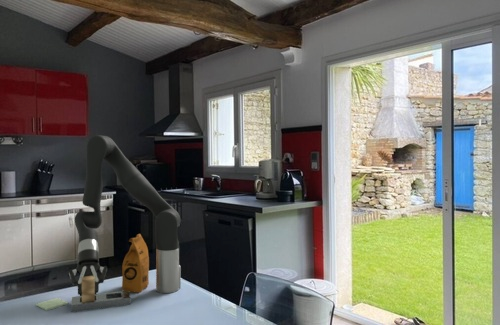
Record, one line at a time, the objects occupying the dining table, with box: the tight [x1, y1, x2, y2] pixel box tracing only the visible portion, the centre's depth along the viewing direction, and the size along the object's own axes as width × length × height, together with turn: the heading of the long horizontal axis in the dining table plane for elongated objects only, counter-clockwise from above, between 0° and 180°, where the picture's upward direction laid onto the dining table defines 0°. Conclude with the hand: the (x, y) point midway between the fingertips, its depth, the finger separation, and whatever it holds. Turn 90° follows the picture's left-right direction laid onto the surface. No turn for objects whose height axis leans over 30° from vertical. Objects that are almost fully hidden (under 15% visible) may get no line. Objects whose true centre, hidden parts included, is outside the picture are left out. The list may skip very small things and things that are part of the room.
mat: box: [35, 297, 69, 311], centre depth 142 cm, size 8×8×1 cm
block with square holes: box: [70, 290, 131, 313], centre depth 143 cm, size 20×9×2 cm, turn 113°
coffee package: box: [121, 233, 150, 294], centre depth 162 cm, size 10×12×22 cm
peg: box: [82, 276, 95, 302], centre depth 142 cm, size 4×4×10 cm
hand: (88, 293), depth 140 cm, fingers closed on peg, 4 cm apart
